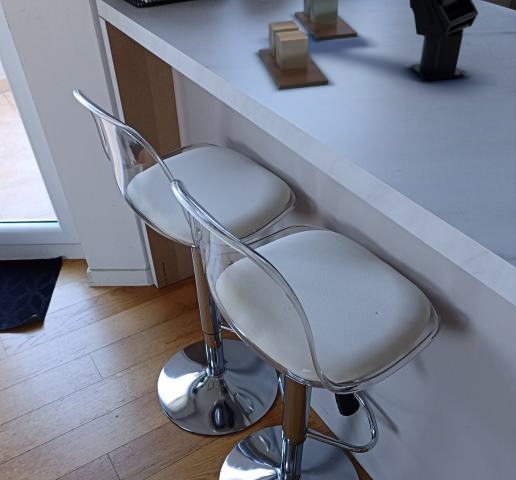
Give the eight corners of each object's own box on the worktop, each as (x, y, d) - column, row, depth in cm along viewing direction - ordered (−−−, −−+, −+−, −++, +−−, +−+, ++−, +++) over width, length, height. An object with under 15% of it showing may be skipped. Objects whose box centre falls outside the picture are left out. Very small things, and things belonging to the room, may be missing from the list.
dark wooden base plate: (357, 36, 103) (359, 5, 99) (316, 40, 102) (317, 9, 98) (330, 11, 116) (331, -17, 112) (294, 15, 115) (294, -13, 112)
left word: (328, 84, 85) (329, 49, 82) (279, 89, 85) (278, 54, 81) (301, 48, 99) (301, 17, 95) (258, 53, 98) (257, 21, 94)
